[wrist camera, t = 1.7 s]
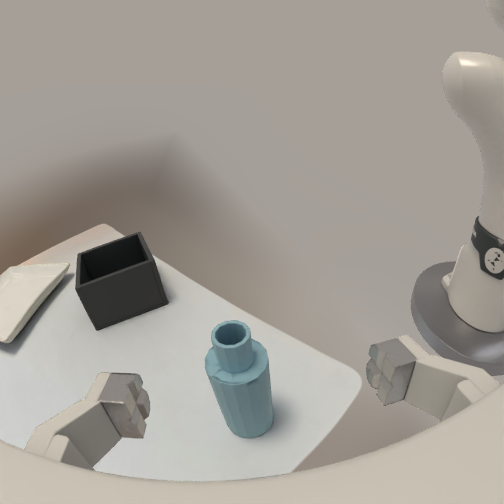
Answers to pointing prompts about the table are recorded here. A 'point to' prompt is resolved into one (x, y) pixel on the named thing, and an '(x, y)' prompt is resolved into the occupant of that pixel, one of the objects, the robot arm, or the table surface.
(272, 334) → the table surface
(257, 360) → the bottle
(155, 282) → the bin
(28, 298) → the square plate
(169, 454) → the table surface
